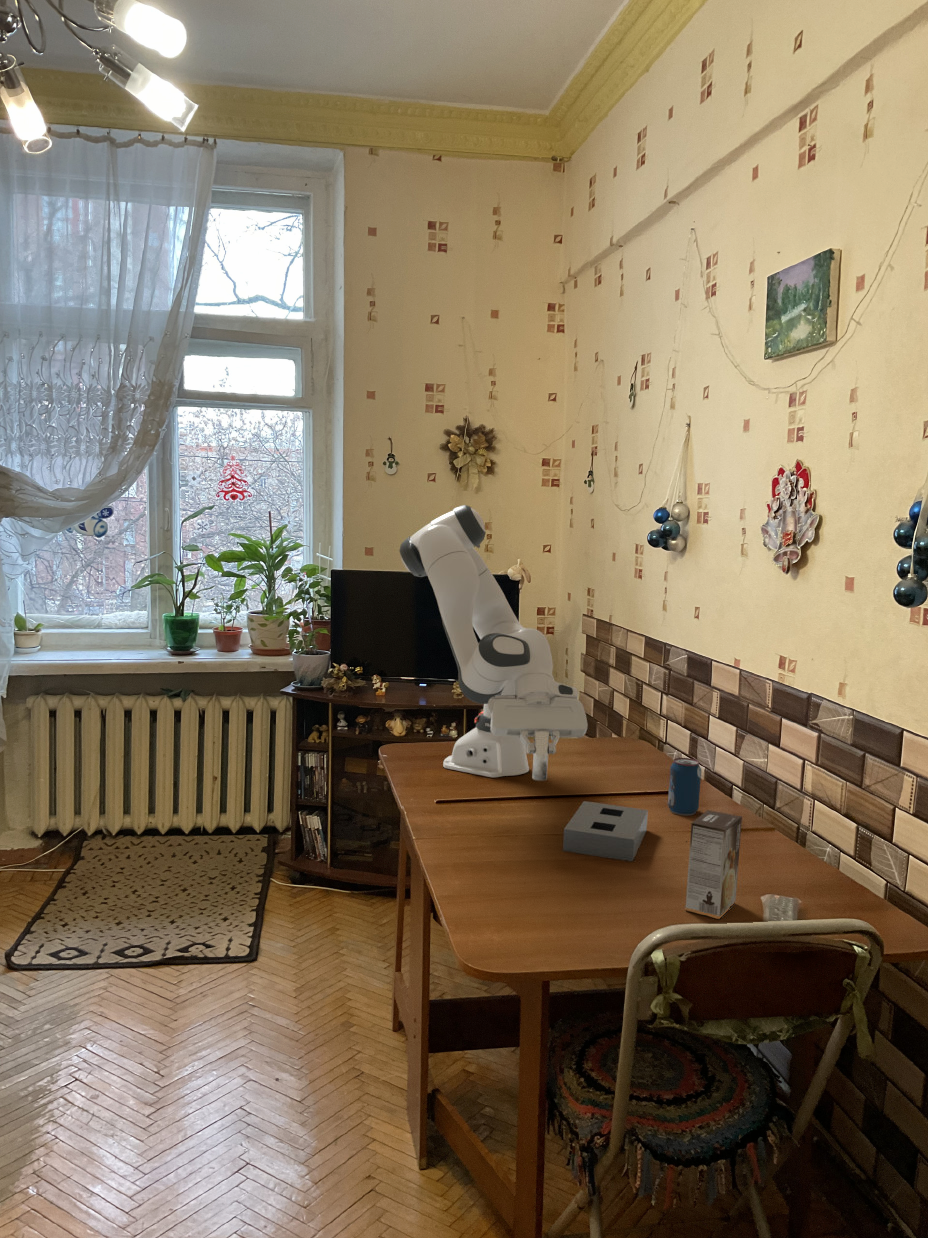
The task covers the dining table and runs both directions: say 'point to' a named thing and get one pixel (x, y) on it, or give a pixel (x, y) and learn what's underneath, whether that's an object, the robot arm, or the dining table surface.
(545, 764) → the steel pin
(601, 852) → the grey peg hole block
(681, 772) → the soda can
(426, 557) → the robot arm
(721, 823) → the coffee box
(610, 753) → the dining table surface
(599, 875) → the dining table surface
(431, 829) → the dining table surface
